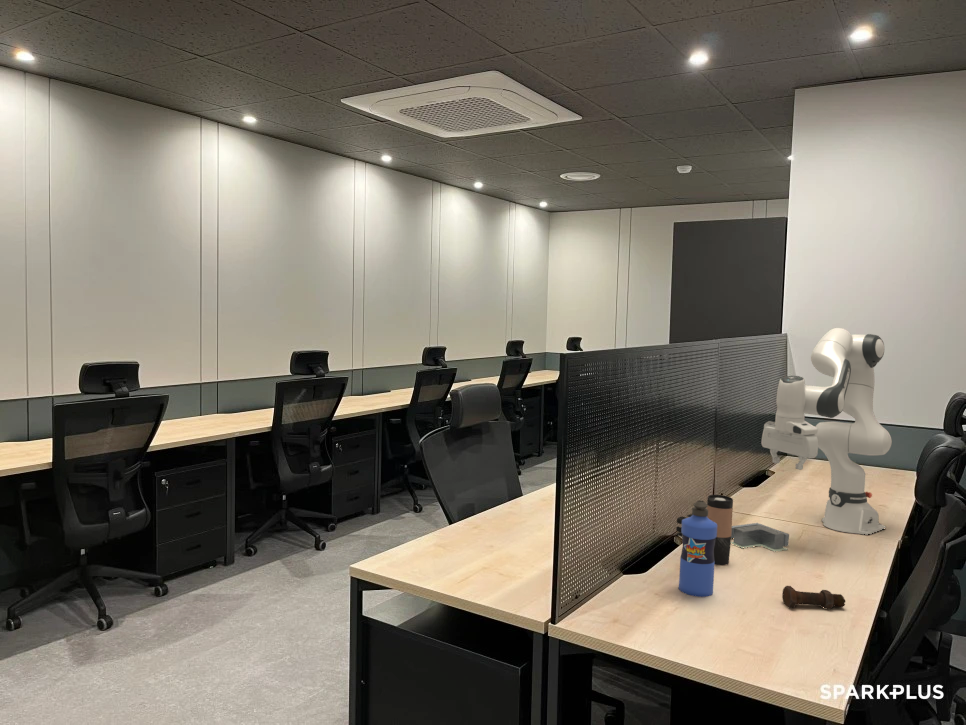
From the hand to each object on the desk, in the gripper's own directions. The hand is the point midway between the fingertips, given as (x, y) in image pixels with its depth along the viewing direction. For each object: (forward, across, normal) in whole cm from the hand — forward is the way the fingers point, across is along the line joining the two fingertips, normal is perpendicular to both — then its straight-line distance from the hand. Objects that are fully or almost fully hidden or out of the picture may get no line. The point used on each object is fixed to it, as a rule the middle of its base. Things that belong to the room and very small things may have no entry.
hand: (787, 466), depth 230 cm
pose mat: (+27, -2, -9) cm, 29 cm away
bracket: (+27, -2, -9) cm, 28 cm away
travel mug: (+26, +4, -33) cm, 43 cm away
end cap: (+27, -19, -22) cm, 40 cm away
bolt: (+26, +40, -34) cm, 58 cm away
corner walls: (+27, -6, -7) cm, 29 cm away
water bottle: (+26, +20, -56) cm, 65 cm away
